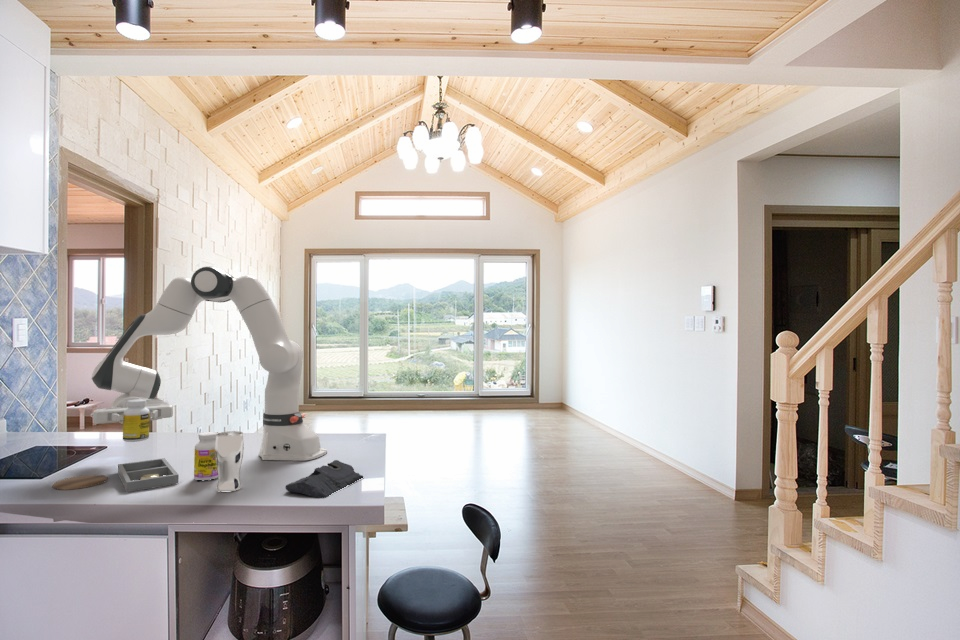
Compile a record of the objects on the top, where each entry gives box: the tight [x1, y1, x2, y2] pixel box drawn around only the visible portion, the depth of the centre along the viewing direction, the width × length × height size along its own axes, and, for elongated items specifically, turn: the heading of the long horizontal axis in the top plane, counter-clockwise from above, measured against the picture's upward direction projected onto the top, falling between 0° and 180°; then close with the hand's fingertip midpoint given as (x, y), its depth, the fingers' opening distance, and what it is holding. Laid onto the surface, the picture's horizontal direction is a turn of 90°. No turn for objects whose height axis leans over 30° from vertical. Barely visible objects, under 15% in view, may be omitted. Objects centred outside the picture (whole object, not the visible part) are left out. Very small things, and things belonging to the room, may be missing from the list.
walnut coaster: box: [52, 474, 108, 491], centre depth 145 cm, size 12×12×1 cm
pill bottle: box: [122, 399, 150, 443], centre depth 154 cm, size 6×6×12 cm
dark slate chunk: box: [285, 459, 364, 499], centre depth 146 cm, size 15×22×5 cm
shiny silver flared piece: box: [215, 430, 245, 492], centre depth 141 cm, size 7×7×15 cm
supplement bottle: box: [193, 431, 218, 481], centre depth 151 cm, size 7×7×13 cm
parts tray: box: [117, 457, 180, 493], centre depth 151 cm, size 23×12×2 cm, turn 39°
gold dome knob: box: [140, 474, 159, 480], centre depth 146 cm, size 4×4×2 cm
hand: (136, 417), depth 153 cm, fingers closed on pill bottle, 6 cm apart
